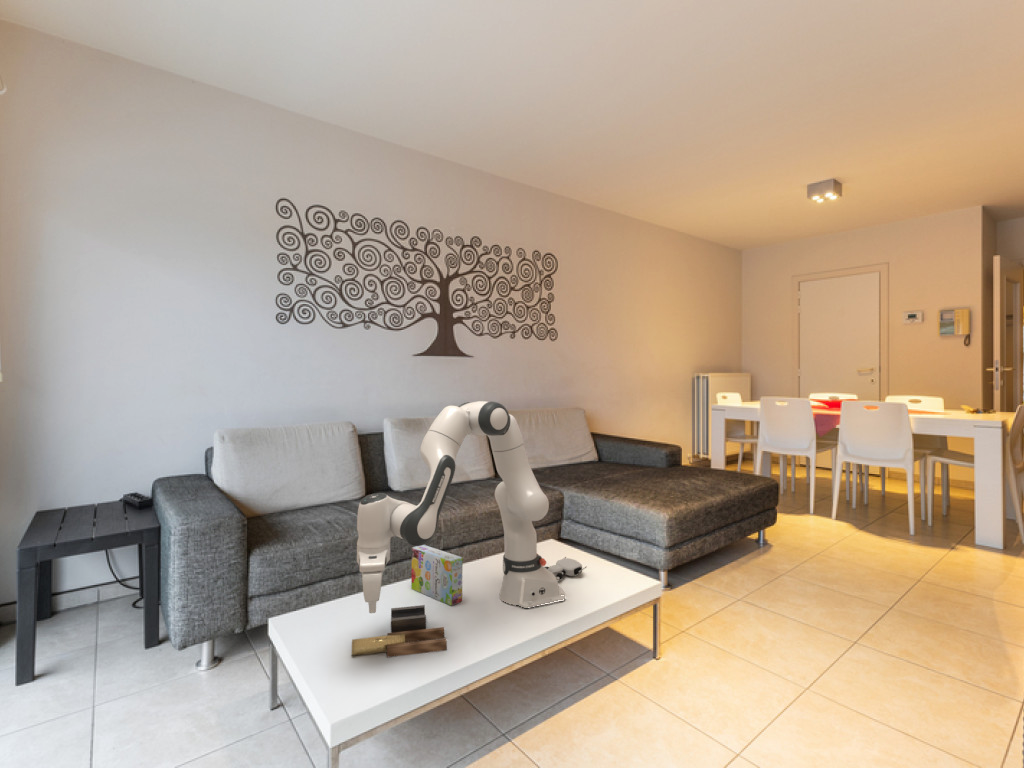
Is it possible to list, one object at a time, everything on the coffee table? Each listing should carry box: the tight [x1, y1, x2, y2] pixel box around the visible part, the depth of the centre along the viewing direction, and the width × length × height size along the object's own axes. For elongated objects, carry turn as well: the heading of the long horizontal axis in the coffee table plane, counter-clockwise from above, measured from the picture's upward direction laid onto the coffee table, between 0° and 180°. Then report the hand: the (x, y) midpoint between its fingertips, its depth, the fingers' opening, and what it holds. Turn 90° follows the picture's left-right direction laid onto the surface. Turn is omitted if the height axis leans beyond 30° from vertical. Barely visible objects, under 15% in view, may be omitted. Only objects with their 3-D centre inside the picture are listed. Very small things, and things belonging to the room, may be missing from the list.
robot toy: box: [544, 556, 588, 581], centre depth 192 cm, size 12×4×15 cm
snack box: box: [410, 544, 464, 606], centre depth 175 cm, size 21×6×15 cm, turn 50°
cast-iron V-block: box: [390, 604, 427, 633], centre depth 151 cm, size 10×8×5 cm
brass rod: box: [351, 633, 405, 657], centre depth 140 cm, size 14×4×4 cm, turn 104°
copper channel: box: [386, 626, 448, 658], centre depth 142 cm, size 16×8×2 cm, turn 103°
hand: (373, 604), depth 139 cm, fingers open, 8 cm apart
